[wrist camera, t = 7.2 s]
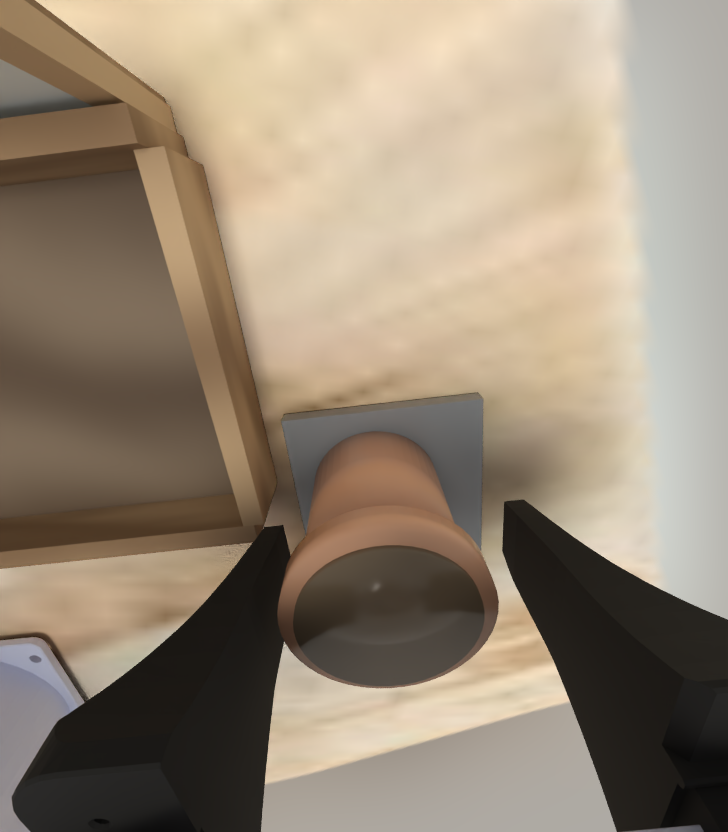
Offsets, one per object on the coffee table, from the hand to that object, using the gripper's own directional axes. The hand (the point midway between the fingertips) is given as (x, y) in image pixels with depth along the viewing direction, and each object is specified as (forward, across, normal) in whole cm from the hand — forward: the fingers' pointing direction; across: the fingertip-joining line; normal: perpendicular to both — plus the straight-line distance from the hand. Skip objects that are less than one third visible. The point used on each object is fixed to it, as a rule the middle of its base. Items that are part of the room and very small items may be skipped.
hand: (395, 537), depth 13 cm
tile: (+3, 0, 0) cm, 3 cm away
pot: (+2, 0, 0) cm, 2 cm away
